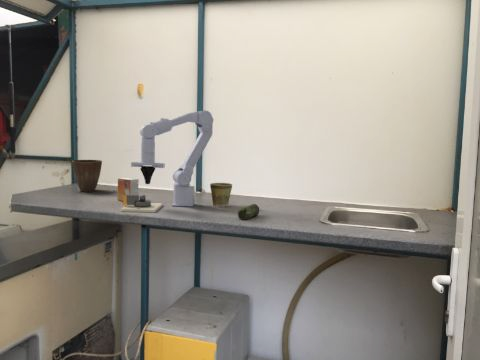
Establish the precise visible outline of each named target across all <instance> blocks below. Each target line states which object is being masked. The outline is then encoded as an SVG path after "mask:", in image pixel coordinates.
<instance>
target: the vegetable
mask: <svg viewBox="0 0 480 360" xmlns="http://www.w3.org/2000/svg"><path fill="white" fill-rule="evenodd" d="M259 213H260V207H259V205H257V204H256V203H252V204H250V205H246V206H242V207H240V208H239V209H238V212H237V218H239V219H240V220H243V219H246V220H248V219H250V218H252V217H255V216H258V215H259Z"/></svg>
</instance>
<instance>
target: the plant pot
mask: <svg viewBox="0 0 480 360" xmlns="http://www.w3.org/2000/svg"><path fill="white" fill-rule="evenodd" d="M71 163H72V171H73V175H74V177H75V181H76V183H77V186H78V188H79V191H80V192H83V191H84V192H87V193H89V191H90V192H95V191H96V189H97V186H98V183H99V180H100V177H101V172H102V165H103V164H102V163H103V160H101V159H75V160H71Z"/></svg>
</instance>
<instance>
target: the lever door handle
mask: <svg viewBox="0 0 480 360" xmlns="http://www.w3.org/2000/svg"><path fill="white" fill-rule="evenodd" d="M146 196H147V195H145V194H140V195H139V194H138V195H123V201H122V206H126V205H134V206H135V207H150V206H151V203H152V200H150V199H146Z"/></svg>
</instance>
